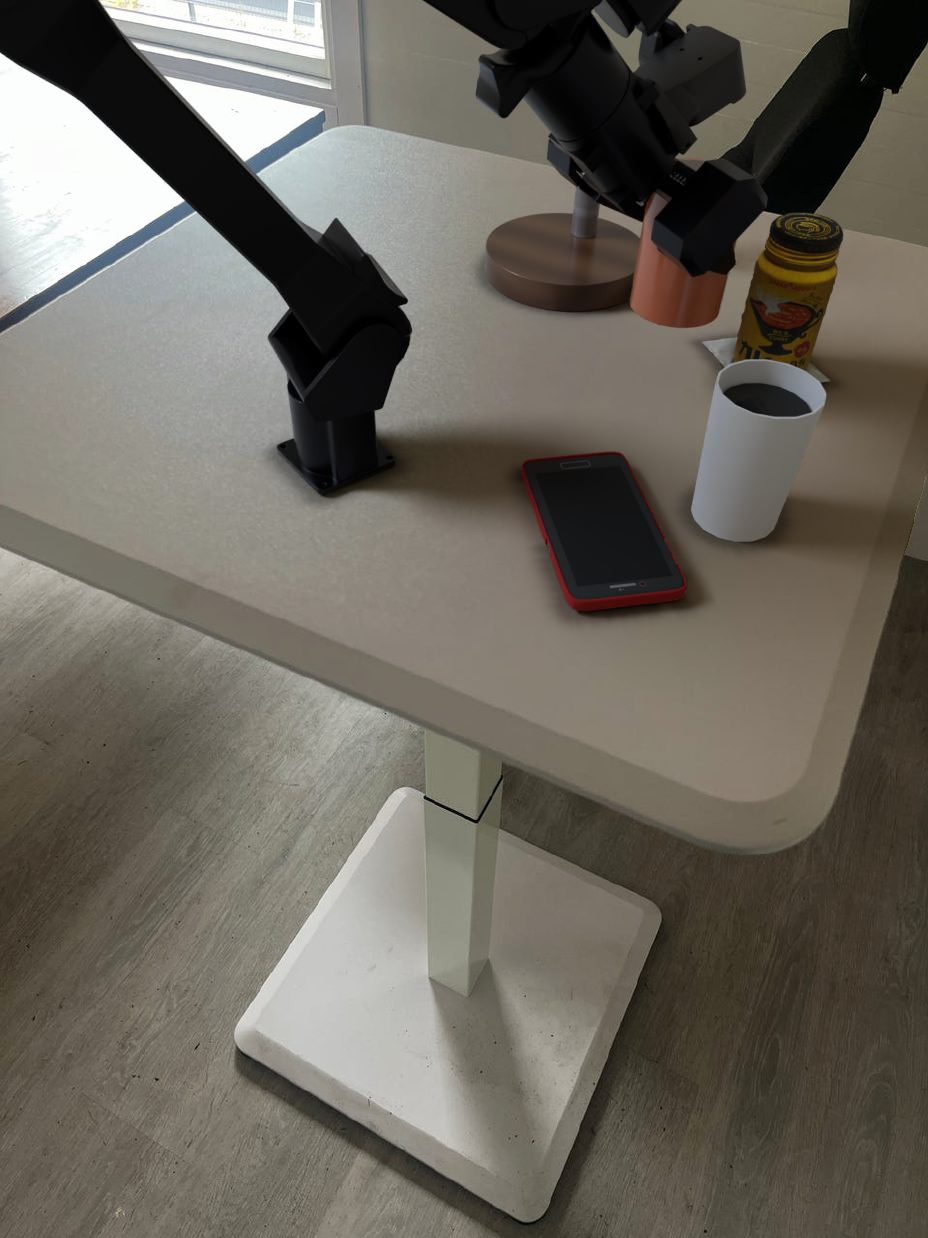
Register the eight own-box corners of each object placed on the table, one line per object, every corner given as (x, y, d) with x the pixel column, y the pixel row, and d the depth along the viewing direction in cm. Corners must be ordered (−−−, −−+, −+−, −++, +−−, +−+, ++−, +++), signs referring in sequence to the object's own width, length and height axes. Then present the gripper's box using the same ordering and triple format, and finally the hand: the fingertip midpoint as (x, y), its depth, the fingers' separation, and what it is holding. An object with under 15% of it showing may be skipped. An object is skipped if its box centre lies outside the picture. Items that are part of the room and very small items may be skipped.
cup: (729, 328, 69) (762, 196, 62) (638, 328, 69) (661, 195, 62) (708, 284, 74) (737, 157, 67) (622, 284, 73) (643, 156, 66)
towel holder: (599, 328, 81) (628, 116, 69) (454, 281, 87) (457, 77, 74) (668, 263, 90) (705, 65, 78) (533, 224, 96) (547, 33, 83)
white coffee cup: (737, 560, 61) (777, 432, 54) (664, 506, 65) (692, 380, 57) (803, 521, 64) (849, 395, 57) (729, 472, 67) (764, 348, 60)
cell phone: (621, 459, 68) (622, 448, 67) (689, 601, 58) (692, 590, 57) (517, 469, 67) (518, 458, 66) (569, 615, 57) (570, 604, 56)
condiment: (750, 396, 74) (791, 249, 66) (701, 343, 80) (733, 201, 71) (829, 383, 76) (880, 238, 67) (776, 332, 82) (816, 191, 73)
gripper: (784, 25, 49) (876, 207, 60) (605, -52, 61) (710, 113, 72) (632, 199, 52) (745, 341, 63) (490, 94, 64) (607, 230, 75)
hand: (701, 247), depth 68 cm, fingers closed on cup, 7 cm apart
